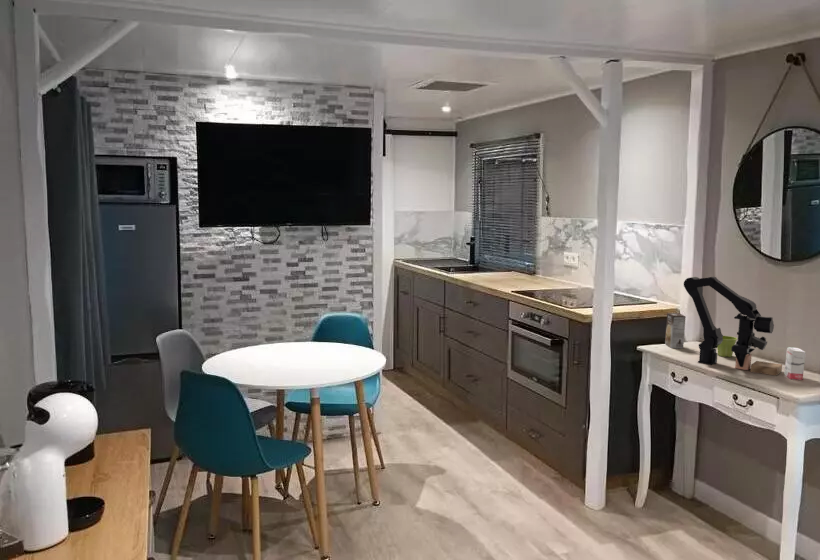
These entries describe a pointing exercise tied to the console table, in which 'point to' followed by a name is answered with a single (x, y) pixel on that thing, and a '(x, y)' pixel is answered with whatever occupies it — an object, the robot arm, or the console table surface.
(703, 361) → the robot arm
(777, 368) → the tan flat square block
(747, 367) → the peach block
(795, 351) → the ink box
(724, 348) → the plant pot
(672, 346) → the coffee box
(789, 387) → the console table surface
